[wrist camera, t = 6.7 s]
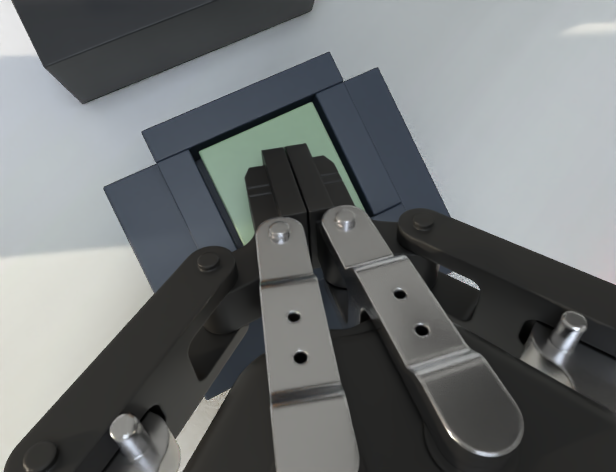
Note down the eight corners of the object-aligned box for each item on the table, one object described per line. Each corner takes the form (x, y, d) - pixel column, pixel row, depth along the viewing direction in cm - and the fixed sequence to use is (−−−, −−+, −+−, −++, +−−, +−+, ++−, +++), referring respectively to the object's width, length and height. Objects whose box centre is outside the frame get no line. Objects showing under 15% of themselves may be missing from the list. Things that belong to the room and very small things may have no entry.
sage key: (253, 266, 17) (254, 267, 15) (203, 163, 17) (197, 150, 15) (353, 217, 18) (366, 212, 16) (305, 117, 18) (312, 100, 16)
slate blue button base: (214, 375, 21) (200, 419, 15) (123, 188, 21) (73, 159, 15) (433, 261, 23) (499, 261, 17) (350, 88, 23) (385, 27, 17)
